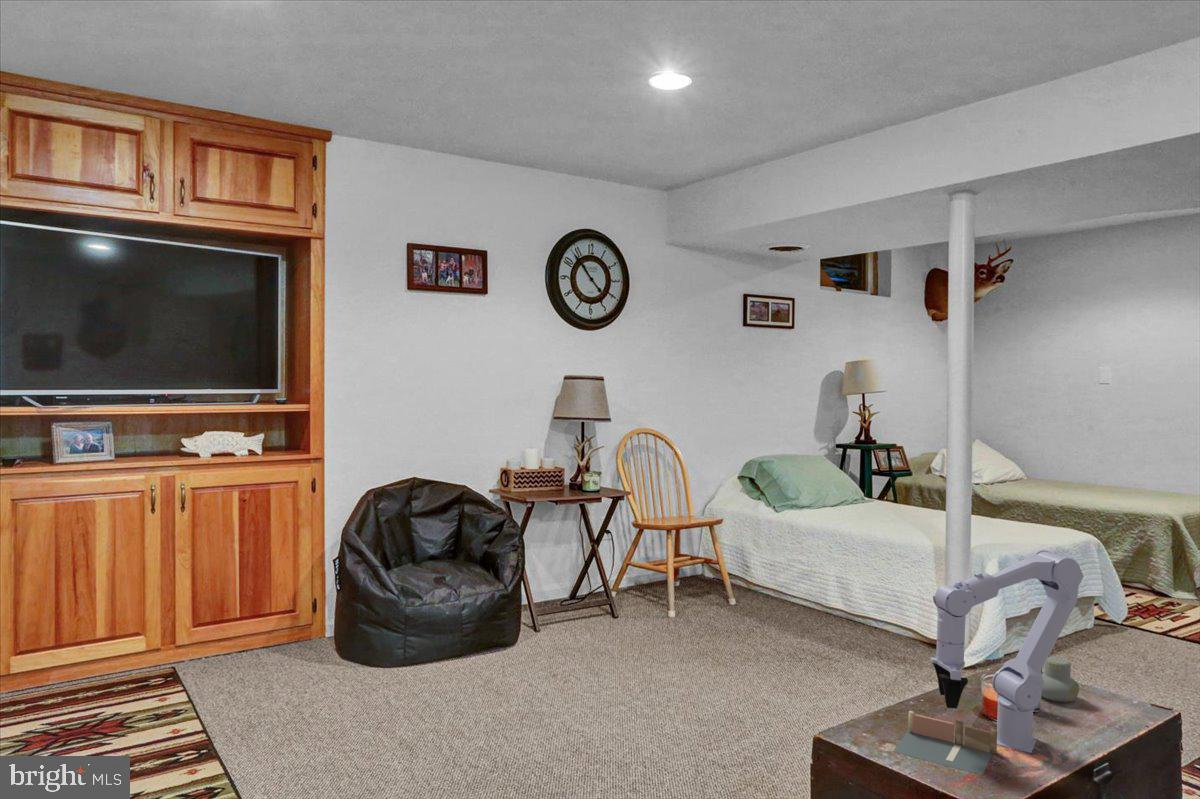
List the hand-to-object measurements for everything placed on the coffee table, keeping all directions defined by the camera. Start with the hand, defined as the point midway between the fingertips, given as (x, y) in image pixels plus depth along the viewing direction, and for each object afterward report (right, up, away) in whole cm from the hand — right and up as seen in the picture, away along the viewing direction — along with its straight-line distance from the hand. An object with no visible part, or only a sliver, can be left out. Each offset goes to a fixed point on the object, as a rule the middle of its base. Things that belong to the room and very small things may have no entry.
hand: (948, 701), depth 188 cm
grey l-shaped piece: (+41, -11, +31) cm, 52 cm away
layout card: (-2, -10, -3) cm, 11 cm away
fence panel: (-3, -9, +3) cm, 10 cm away
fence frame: (+5, -10, -2) cm, 11 cm away
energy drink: (+29, -10, +23) cm, 39 cm away
